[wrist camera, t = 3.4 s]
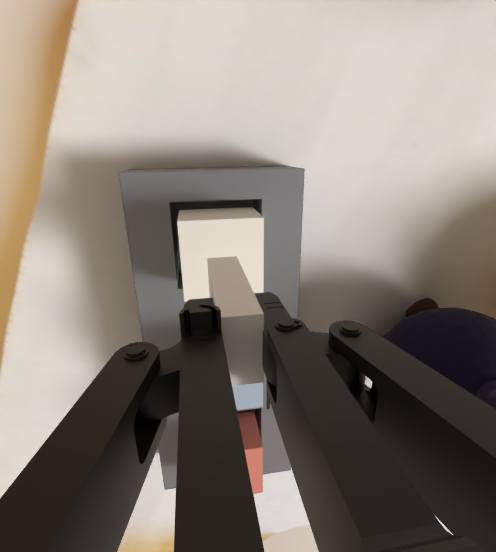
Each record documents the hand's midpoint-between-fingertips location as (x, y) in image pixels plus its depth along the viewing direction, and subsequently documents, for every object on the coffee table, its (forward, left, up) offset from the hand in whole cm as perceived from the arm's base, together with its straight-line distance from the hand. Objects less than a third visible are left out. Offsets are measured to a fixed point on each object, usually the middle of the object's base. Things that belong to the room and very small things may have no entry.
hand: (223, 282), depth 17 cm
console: (+9, 0, -11) cm, 14 cm away
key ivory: (0, 0, -7) cm, 7 cm away
